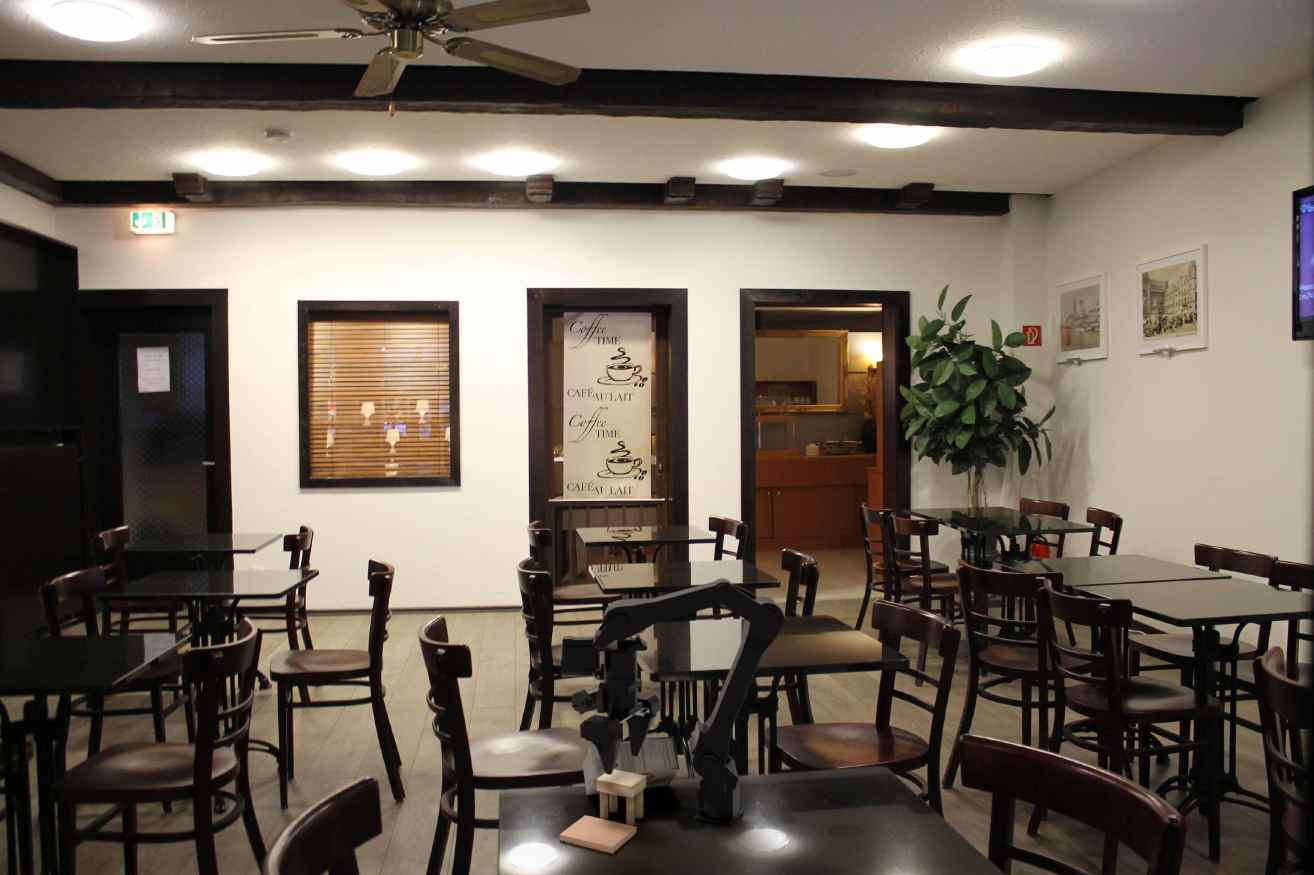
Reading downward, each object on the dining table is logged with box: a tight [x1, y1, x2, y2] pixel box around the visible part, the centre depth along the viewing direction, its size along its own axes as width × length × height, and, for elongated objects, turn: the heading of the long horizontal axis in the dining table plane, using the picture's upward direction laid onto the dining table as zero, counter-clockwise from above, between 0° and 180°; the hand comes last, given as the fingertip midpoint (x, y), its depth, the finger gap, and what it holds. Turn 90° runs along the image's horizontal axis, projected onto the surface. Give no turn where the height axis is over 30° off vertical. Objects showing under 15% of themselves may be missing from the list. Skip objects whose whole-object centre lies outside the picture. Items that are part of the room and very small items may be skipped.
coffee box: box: [582, 736, 680, 796], centre depth 165 cm, size 9×6×16 cm
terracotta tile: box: [559, 815, 637, 854], centre depth 148 cm, size 10×8×1 cm
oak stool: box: [597, 770, 646, 826], centre depth 155 cm, size 7×5×7 cm
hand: (622, 764), depth 155 cm, fingers open, 9 cm apart
